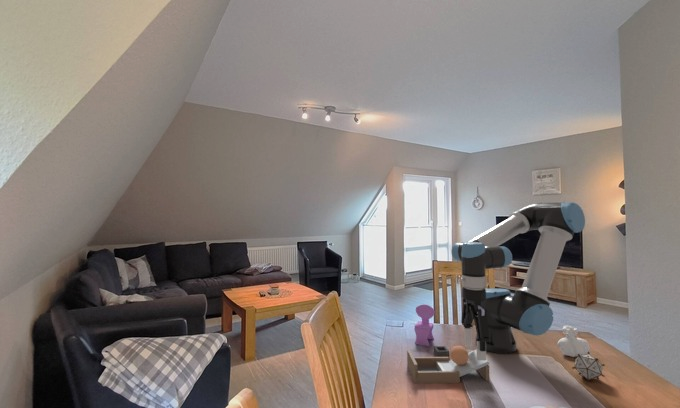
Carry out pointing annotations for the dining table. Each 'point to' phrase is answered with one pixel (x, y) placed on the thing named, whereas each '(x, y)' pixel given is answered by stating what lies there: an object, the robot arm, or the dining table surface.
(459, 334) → the dining table surface
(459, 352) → the ball
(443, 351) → the square sleeve
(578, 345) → the bust
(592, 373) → the game die
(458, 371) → the ramp with walled tray
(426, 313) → the toy chair
